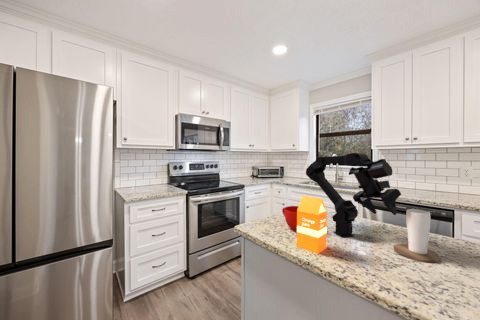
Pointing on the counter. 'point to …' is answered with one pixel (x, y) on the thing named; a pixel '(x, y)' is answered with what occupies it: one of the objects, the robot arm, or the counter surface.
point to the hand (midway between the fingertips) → (384, 213)
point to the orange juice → (311, 224)
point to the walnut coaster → (404, 251)
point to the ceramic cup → (291, 216)
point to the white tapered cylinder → (418, 230)
